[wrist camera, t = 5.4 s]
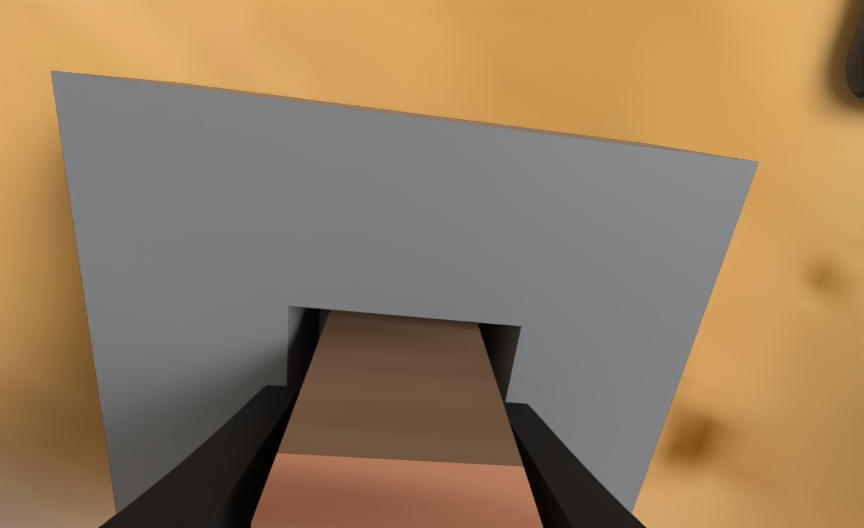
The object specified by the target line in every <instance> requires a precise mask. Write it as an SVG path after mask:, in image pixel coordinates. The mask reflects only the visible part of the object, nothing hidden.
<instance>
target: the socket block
mask: <svg viewBox="0 0 864 528" xmlns="http://www.w3.org/2000/svg"><path fill="white" fill-rule="evenodd" d="M51 76H52V83H53V90H54V96H55V103H56V110H57V117H58V123H59V130H60V137H61V143H62V150H63V157H64V164H65V170H66V177H67V184H68V190H69V197H70V204H71V211H72V217H73V224H74V231H75V237H76V244H77V251H78V258H79V264H80V271H81V278H82V284H83V291H84V298H85V305H86V311H87V318H88V325H89V331H90V338H91V345H92V352H93V358H94V365H95V372H96V378H97V385H98V392H99V399H100V405H101V412H102V419H103V425H104V432H105V439H106V446H107V452H108V459H109V466H110V472H111V479H112V486H113V493H114V499H115V506H116V513H119V512H120V511H121V510H123V509H124V508H125V507H126V506H128V505H129V504H130V503H131V502H133V501H134V500H135V499H136V498H138V497H139V496H140V495H141V494H143V493H144V492H145V491H146V490H148V489H149V488H150V487H151V486H153V485H154V484H155V483H156V482H158V481H159V480H160V479H161V478H163V477H164V476H165V475H166V474H167V473H169V472H170V471H171V470H172V469H174V468H175V467H176V466H177V465H178V464H180V463H181V462H182V461H183V460H184V459H185V458H186V457H188V456H189V455H190V454H191V453H192V452H193V451H194V450H196V449H197V448H198V447H199V446H200V445H201V444H202V443H204V442H205V441H206V440H207V439H208V438H209V437H210V436H212V435H213V434H214V433H215V432H216V431H217V430H218V429H219V428H220V427H221V426H223V425H224V424H225V423H226V422H227V421H228V420H229V419H230V418H231V417H232V416H233V415H234V414H236V413H237V412H238V411H239V410H240V409H241V408H242V407H243V406H244V405H245V404H246V403H247V402H248V401H249V400H250V399H251V398H252V397H253V396H255V395H256V394H257V393H258V392H259V391H260V390H261V389H262V388H264V387H265V386H266V385H275V386H289V387H299V393H300V390H301V388H302V385H303V382H304V380H305V377H306V374H307V372H308V369H309V366H310V364H311V361H312V358H313V356H314V353H315V350H316V347H317V345H318V342H319V339H320V337H321V334H322V331H323V329H324V326H325V323H326V321H327V318H328V315H329V313H330V310H343V311H354V312H365V313H377V314H388V315H400V316H411V317H422V318H434V319H445V320H457V321H468V322H477V323H478V327H479V330H480V333H481V336H482V339H483V342H484V345H485V348H486V351H487V355H488V358H489V361H490V364H491V367H492V370H493V373H494V376H495V379H496V383H497V386H498V389H499V392H500V395H501V398H502V401H503V402H513V403H527V404H528V405H529V406H530V407H531V408H532V409H533V410H534V411H535V412H536V413H537V414H538V415H539V417H540V418H541V419H542V420H543V421H544V422H545V423H546V424H547V425H548V426H549V428H550V429H551V430H552V431H553V432H554V433H555V434H556V435H557V437H558V438H559V439H560V440H561V441H562V442H563V443H564V444H565V445H566V446H567V448H568V449H569V450H570V451H571V452H572V453H573V454H574V455H575V456H576V457H577V458H578V460H579V461H580V462H581V463H582V464H583V465H584V466H585V467H586V468H587V469H588V470H589V471H590V472H591V473H592V474H593V475H594V477H595V478H596V479H597V480H598V481H599V482H600V483H601V484H602V485H603V486H604V487H605V488H606V489H607V490H608V491H609V492H610V493H611V494H612V495H613V496H614V497H615V498H616V499H617V500H618V501H619V502H620V503H621V504H622V505H623V506H624V507H625V508H626V509H627V510H628V511H629V512H630V513H631V514H632V511H633V508H634V505H635V503H636V500H637V497H638V494H639V492H640V489H641V486H642V483H643V481H644V478H645V475H646V472H647V470H648V467H649V464H650V461H651V459H652V456H653V453H654V450H655V447H656V445H657V442H658V439H659V436H660V434H661V431H662V428H663V425H664V423H665V420H666V417H667V414H668V412H669V409H670V406H671V403H672V401H673V398H674V395H675V392H676V389H677V387H678V384H679V381H680V378H681V376H682V373H683V370H684V367H685V365H686V362H687V359H688V356H689V354H690V351H691V348H692V345H693V343H694V340H695V337H696V334H697V331H698V329H699V326H700V323H701V320H702V318H703V315H704V312H705V309H706V307H707V304H708V301H709V298H710V296H711V293H712V290H713V287H714V285H715V282H716V279H717V276H718V273H719V271H720V268H721V265H722V262H723V260H724V257H725V254H726V251H727V249H728V246H729V243H730V240H731V238H732V235H733V232H734V229H735V227H736V224H737V221H738V218H739V215H740V213H741V210H742V207H743V204H744V202H745V199H746V196H747V193H748V191H749V188H750V185H751V182H752V180H753V177H754V174H755V171H756V169H757V166H758V163H759V162H756V161H750V160H744V159H738V158H731V157H725V156H719V155H713V154H707V153H701V152H695V151H689V150H682V149H676V148H670V147H664V146H658V145H652V144H646V143H638V142H630V141H622V140H615V139H607V138H599V137H592V136H584V135H576V134H568V133H561V132H553V131H545V130H538V129H530V128H522V127H515V126H507V125H499V124H491V123H484V122H476V121H468V120H461V119H453V118H445V117H438V116H430V115H422V114H414V113H407V112H399V111H391V110H384V109H376V108H368V107H360V106H353V105H345V104H337V103H330V102H322V101H314V100H307V99H299V98H291V97H283V96H276V95H268V94H260V93H253V92H245V91H237V90H230V89H222V88H214V87H206V86H199V85H191V84H183V83H176V82H165V81H154V80H144V79H133V78H123V77H112V76H102V75H91V74H81V73H70V72H60V71H51Z"/></svg>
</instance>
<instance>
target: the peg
mask: <svg viewBox="0 0 864 528" xmlns="http://www.w3.org/2000/svg"><path fill="white" fill-rule="evenodd" d="M251 528H543V526H542V523H541V520H540V516H539V513H538V510H537V507H536V504H535V501H534V498H533V495H532V492H531V488H530V485H529V482H528V479H527V476H526V473H525V470H524V467H523V463H522V460H521V457H520V454H519V451H518V448H517V445H516V442H515V439H514V435H513V432H512V429H511V426H510V423H509V420H508V417H507V414H506V411H505V407H504V404H503V401H502V398H501V395H500V392H499V389H498V386H497V383H496V379H495V376H494V373H493V370H492V367H491V364H490V361H489V358H488V355H487V351H486V348H485V345H484V342H483V339H482V336H481V333H480V330H479V327H478V323H477V322H468V321H457V320H445V319H434V318H422V317H411V316H400V315H388V314H377V313H365V312H354V311H343V310H330V313H329V315H328V318H327V321H326V323H325V326H324V329H323V331H322V334H321V337H320V339H319V342H318V345H317V347H316V350H315V353H314V356H313V358H312V361H311V364H310V366H309V369H308V372H307V374H306V377H305V380H304V382H303V385H302V388H301V390H300V393H299V396H298V398H297V401H296V404H295V407H294V409H293V412H292V415H291V417H290V420H289V423H288V425H287V428H286V431H285V433H284V436H283V439H282V441H281V444H280V447H279V450H278V452H277V455H276V458H275V460H274V463H273V466H272V468H271V471H270V474H269V476H268V479H267V482H266V484H265V487H264V490H263V493H262V495H261V498H260V501H259V503H258V506H257V509H256V511H255V514H254V517H253V519H252V522H251Z"/></svg>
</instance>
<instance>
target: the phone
mask: <svg viewBox="0 0 864 528" xmlns="http://www.w3.org/2000/svg"><path fill="white" fill-rule="evenodd" d="M846 70H847V81H848V83H849V85H850V87H851V90H852V92H853V93H854V94H855V95H857V96H858V97H859V98H860V99H861V100H864V12H863V15H862V18H861V20H860V23H859V26H858V29H857V32H856V35H855V37H854V40H853V43H852V46H851V49H850V52H849V56H848V61H847V66H846Z"/></svg>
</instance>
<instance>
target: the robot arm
mask: <svg viewBox="0 0 864 528" xmlns="http://www.w3.org/2000/svg"><path fill="white" fill-rule="evenodd" d="M298 396H299V387H289V386H275V385H266V386H265V387H264V388H262V389H261V390H260V391H259V392H258V393H257V394H256V395H255V396H253V397H252V398H251V399H250V400H249V401H248V402H247V403H246V404H245V405H244V406H243V407H242V408H241V409H240V410H239V411H238V412H237V413H236V414H234V415H233V416H232V417H231V418H230V419H229V420H228V421H227V422H226V423H225V424H224V425H223V426H221V427H220V428H219V429H218V430H217V431H216V432H215V433H214V434H213V435H212V436H210V437H209V438H208V439H207V440H206V441H205V442H204V443H202V444H201V445H200V446H199V447H198V448H197V449H196V450H194V451H193V452H192V453H191V454H190V455H189V456H188V457H186V458H185V459H184V460H183V461H182V462H181V463H180V464H178V465H177V466H176V467H175V468H174V469H172V470H171V471H170V472H169V473H167V474H166V475H165V476H164V477H163V478H161V479H160V480H159V481H158V482H156V483H155V484H154V485H153V486H151V487H150V488H149V489H148V490H146V491H145V492H144V493H143V494H141V495H140V496H139V497H138V498H136V499H135V500H134V501H133V502H131V503H130V504H129V505H128V506H126V507H125V508H124V509H123V510H121V511H120V512H119V513H117V514H116V515H115V516H113V517H112V518H111V519H109V520H108V521H107V522H105V523H104V524H103V525H101V526H100V527H99V528H251V522H252V519H253V517H254V514H255V511H256V509H257V506H258V503H259V501H260V498H261V495H262V493H263V490H264V487H265V484H266V482H267V479H268V476H269V474H270V471H271V468H272V466H273V463H274V460H275V458H276V455H277V452H278V450H279V447H280V444H281V441H282V439H283V436H284V433H285V431H286V428H287V425H288V423H289V420H290V417H291V415H292V412H293V409H294V407H295V404H296V401H297V398H298ZM503 404H504V407H505V411H506V414H507V417H508V420H509V423H510V426H511V429H512V432H513V435H514V439H515V442H516V445H517V448H518V451H519V454H520V457H521V460H522V463H523V467H524V470H525V473H526V476H527V479H528V482H529V485H530V488H531V492H532V495H533V498H534V501H535V504H536V507H537V510H538V513H539V516H540V520H541V523H542V526H543V528H646V527H645V526H644V525H643V524H642V523H641V522H640V521H639V520H638V519H637V518H635V517H634V516H633V515H632V514H631V513H630V512H629V511H628V510H627V509H626V508H625V507H624V506H623V505H622V504H621V503H620V502H619V501H618V500H617V499H616V498H615V497H614V496H613V495H612V494H611V493H610V492H609V491H608V490H607V489H606V488H605V487H604V486H603V485H602V484H601V483H600V482H599V481H598V480H597V479H596V478H595V477H594V475H593V474H592V473H591V472H590V471H589V470H588V469H587V468H586V467H585V466H584V465H583V464H582V463H581V462H580V461H579V460H578V458H577V457H576V456H575V455H574V454H573V453H572V452H571V451H570V450H569V449H568V448H567V446H566V445H565V444H564V443H563V442H562V441H561V440H560V439H559V438H558V437H557V435H556V434H555V433H554V432H553V431H552V430H551V429H550V428H549V426H548V425H547V424H546V423H545V422H544V421H543V420H542V419H541V418H540V417H539V415H538V414H537V413H536V412H535V411H534V410H533V409H532V408H531V407H530V406H529V405H528V404H527V403H513V402H503Z"/></svg>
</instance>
